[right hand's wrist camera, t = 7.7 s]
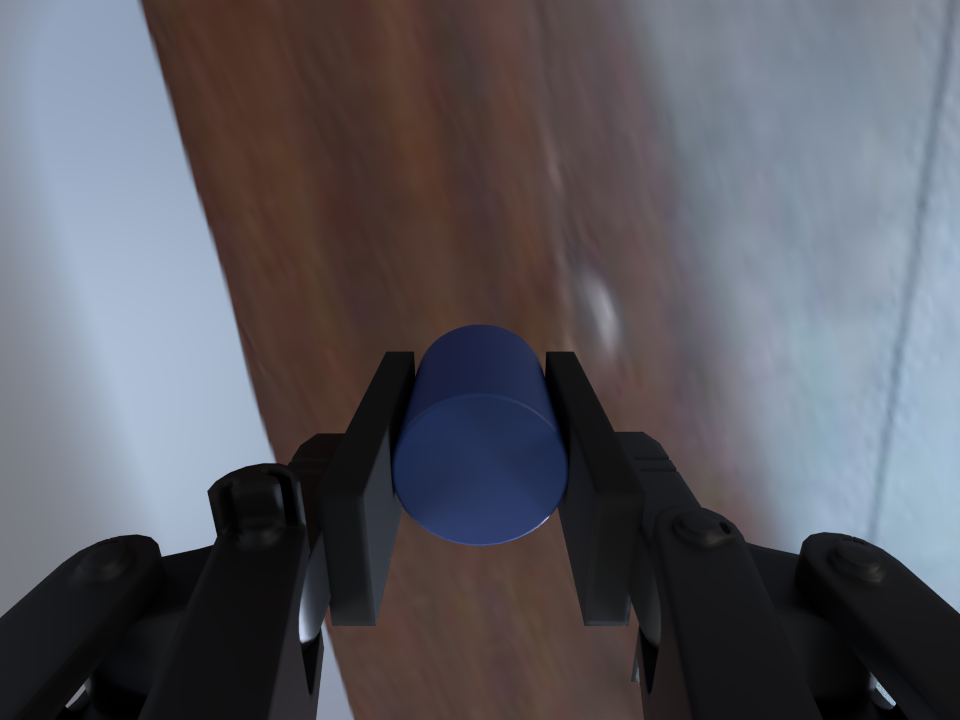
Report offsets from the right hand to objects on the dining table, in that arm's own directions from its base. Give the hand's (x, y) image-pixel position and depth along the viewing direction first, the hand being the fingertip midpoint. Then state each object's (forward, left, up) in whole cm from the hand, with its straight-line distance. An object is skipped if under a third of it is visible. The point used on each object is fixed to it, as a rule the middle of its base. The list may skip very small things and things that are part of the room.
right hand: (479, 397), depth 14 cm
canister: (0, 0, 0) cm, 0 cm away
